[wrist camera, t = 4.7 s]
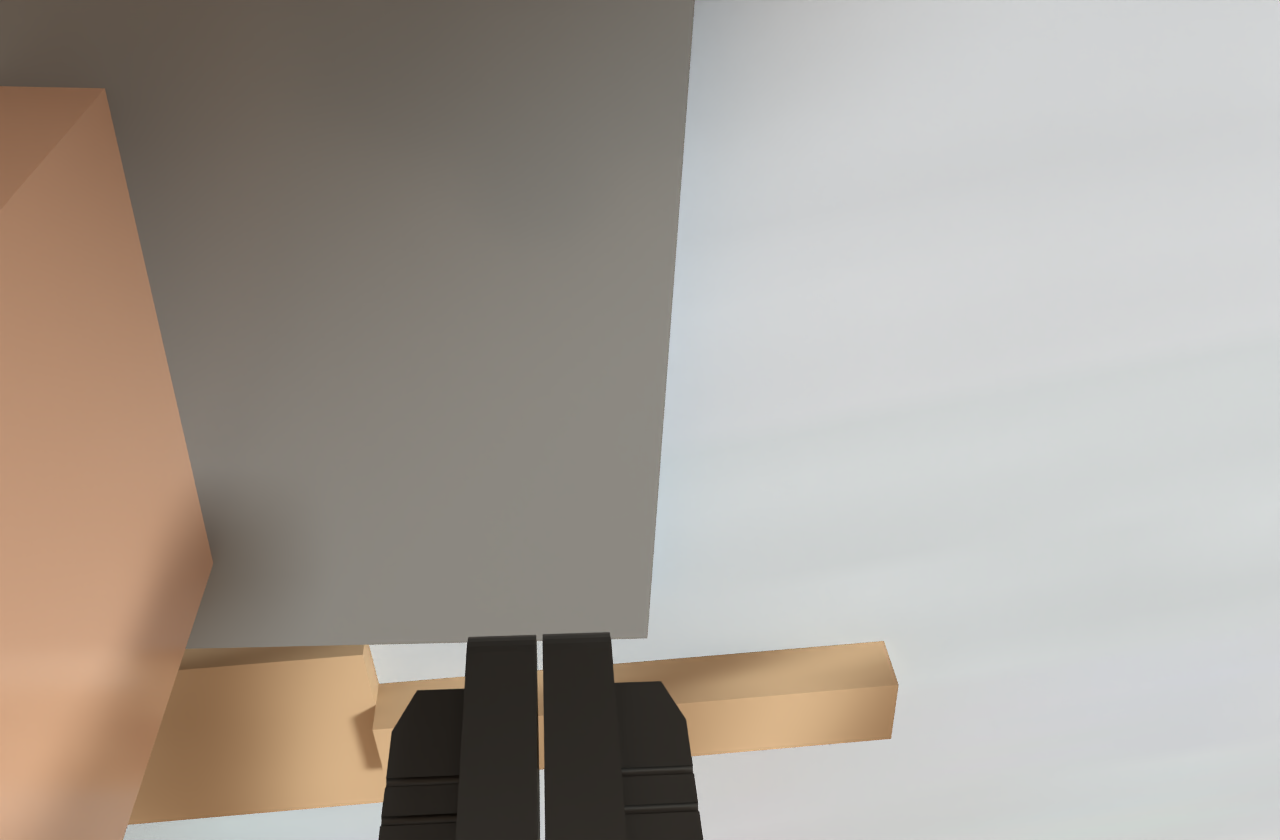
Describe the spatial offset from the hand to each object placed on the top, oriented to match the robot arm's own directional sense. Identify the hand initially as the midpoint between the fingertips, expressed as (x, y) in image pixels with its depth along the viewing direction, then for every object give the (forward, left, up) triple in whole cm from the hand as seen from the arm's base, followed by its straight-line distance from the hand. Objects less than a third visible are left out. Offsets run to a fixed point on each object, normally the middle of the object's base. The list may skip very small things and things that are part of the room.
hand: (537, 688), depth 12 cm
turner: (+9, -1, -7) cm, 11 cm away
